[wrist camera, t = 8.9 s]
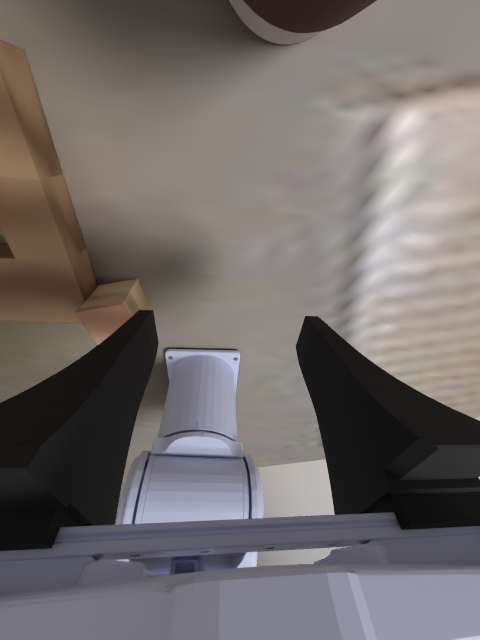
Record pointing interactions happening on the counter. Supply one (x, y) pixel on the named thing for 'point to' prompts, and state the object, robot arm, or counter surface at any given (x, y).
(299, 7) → the coffee cup
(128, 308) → the tan cubic piece
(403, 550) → the robot arm
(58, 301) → the hole board
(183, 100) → the counter surface
